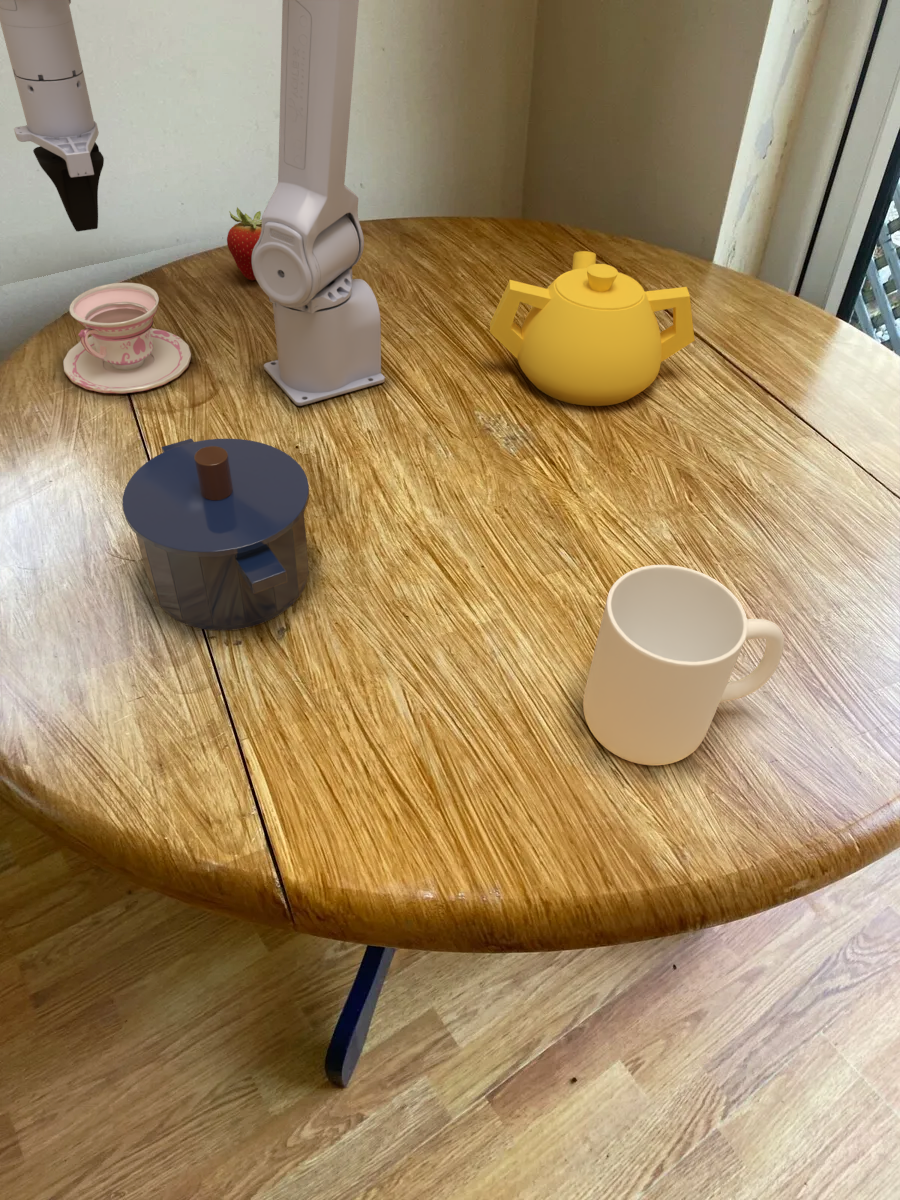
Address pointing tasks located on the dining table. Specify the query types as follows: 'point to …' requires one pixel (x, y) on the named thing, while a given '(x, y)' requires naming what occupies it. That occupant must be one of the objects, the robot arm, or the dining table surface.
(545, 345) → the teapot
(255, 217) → the fruit
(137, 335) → the teacup
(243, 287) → the dining table surface
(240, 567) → the pot
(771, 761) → the dining table surface
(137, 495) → the pot lid
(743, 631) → the cup
